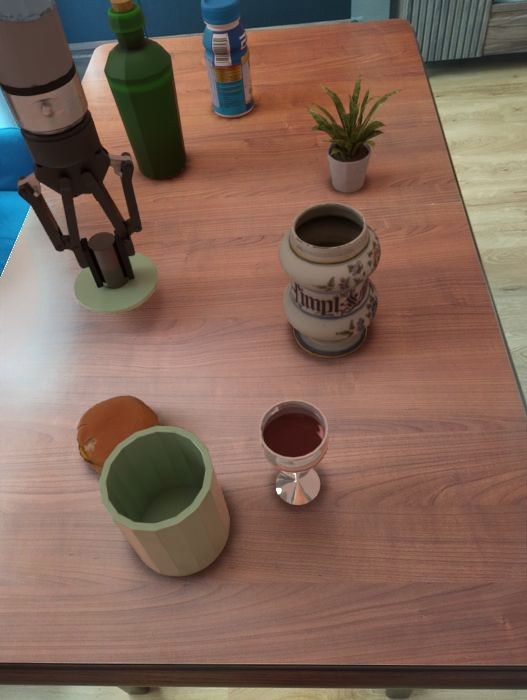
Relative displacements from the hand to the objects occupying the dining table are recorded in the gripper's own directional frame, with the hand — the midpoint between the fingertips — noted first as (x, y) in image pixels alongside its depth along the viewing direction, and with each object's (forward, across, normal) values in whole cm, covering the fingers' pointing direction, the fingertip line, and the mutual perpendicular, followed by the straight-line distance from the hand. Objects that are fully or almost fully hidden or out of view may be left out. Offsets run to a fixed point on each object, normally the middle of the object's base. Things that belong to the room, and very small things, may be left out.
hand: (114, 276), depth 80 cm
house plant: (+6, +41, +15) cm, 44 cm away
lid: (+1, 0, 0) cm, 1 cm away
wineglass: (+6, +14, -34) cm, 38 cm away
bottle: (+7, +12, +32) cm, 35 cm away
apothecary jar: (+6, +26, -14) cm, 30 cm away
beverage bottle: (+6, +29, +46) cm, 55 cm away
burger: (+6, -4, -23) cm, 24 cm away
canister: (+6, +1, -35) cm, 35 cm away
